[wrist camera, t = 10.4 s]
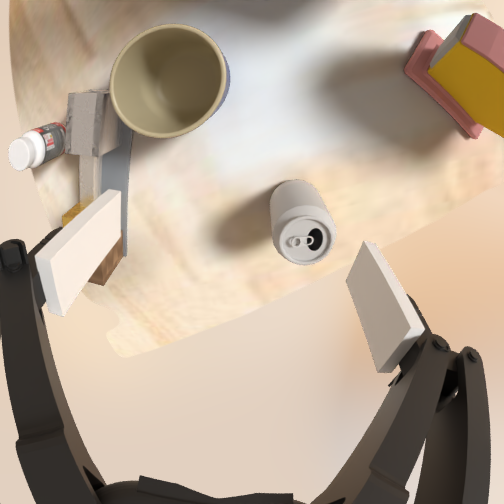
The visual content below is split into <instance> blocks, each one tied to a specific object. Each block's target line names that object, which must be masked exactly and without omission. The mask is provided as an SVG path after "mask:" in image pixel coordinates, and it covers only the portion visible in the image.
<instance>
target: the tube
mask: <svg viewBox="0 0 504 504" xmlns="http://www.w3.org/2000/svg"><path fill="white" fill-rule="evenodd" d="M101 179H102V155H101V156H99V157H95V156H85V155H80V163H79V185H80V202H79V203H78V204H76V205H75V206H74V207H73V208H71V209H70V210H69V211H68V212H67V213H65V214H64V215H63V216H62V222H63V228H64V227H65V226H66V225H67V224H68V223H69V222H70V221H72V220H73V219H74V218H75V217H76V216H77V215H78V214H79V213H81V212H82V211H83V210H84V209H85V208H86V207H88V206H89V205H90V204H91V203H92V202H93V201H95V200H96V199H97V198H98V197H99V196H101Z"/></svg>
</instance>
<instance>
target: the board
mask: <svg viewBox="0 0 504 504" xmlns="http://www.w3.org/2000/svg"><path fill="white" fill-rule="evenodd" d="M89 91H92V90H89ZM132 132H133V130H132V129H131V128H129V127H128V126H127V125H126V124H125V123H124V126H123V136H122V145H121V146H119V147H117V148H115V149H113V150H111V151H109V152H107V153H105V154H103V155H102V179H101V195H102V194H103V193H104V192H106V191H107V190H108V189H111V190H117V191H121V230H123V256H125V257H126V256H127V202H128V180H129V165H130V153H131V142H132Z"/></svg>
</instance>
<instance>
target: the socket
mask: <svg viewBox="0 0 504 504" xmlns="http://www.w3.org/2000/svg"><path fill="white" fill-rule="evenodd" d="M122 257H123V230H121V237H120V238H119V239H118V241H117V242H116V243H115V245H114V246H113V247H112V249H111V250H110V251H109V252H108V254H107V255H106V256H105V258H104V259H103V260H102V262H101V263H100V265H99V266H98V267H97V269H96V270H95V271H94V273H93V274H92V276H91V277H90V278H89V280H88V281H87V282H91V283H95V284H98V285H102V286H104V285H105V283H106V281H107V280H108V278H109V277H110V275H111V274H112V272H113V271H114V269H115V268H116V266H117V265H118V263H119V262H120V260H121V259H122Z"/></svg>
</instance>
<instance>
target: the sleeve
mask: <svg viewBox="0 0 504 504" xmlns="http://www.w3.org/2000/svg"><path fill="white" fill-rule="evenodd" d="M123 126H124V122H123V121H122V120H121V119H120V117H119V116H118V115H117V113H116V111H115V109H114V107H113V104H112V101H111V97H110V90H92V91H83V92H76V93H69V97H68V107H67V120H66V139H65V154H75V155H85V156H95V157H99V156H101V155H103V154H105V153H107V152H109V151H111V150H113V149H115V148H117V147H119V146H121V145H122V136H123Z"/></svg>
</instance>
